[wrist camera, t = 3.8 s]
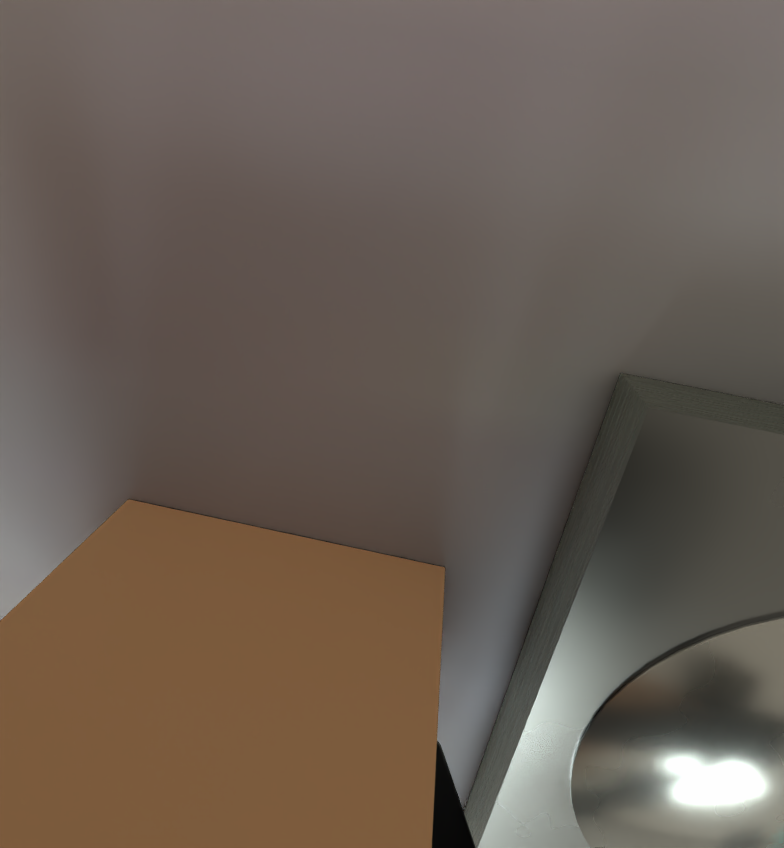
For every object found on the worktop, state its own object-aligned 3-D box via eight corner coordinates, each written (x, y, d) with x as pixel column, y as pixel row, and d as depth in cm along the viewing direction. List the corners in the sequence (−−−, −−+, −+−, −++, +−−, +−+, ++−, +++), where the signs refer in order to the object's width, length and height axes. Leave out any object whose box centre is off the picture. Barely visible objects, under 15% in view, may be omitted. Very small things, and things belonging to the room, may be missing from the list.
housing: (389, 779, 11) (316, 1373, 5) (133, 720, 11) (-184, 1237, 6) (444, 567, 9) (414, 1186, 3) (128, 499, 9) (-380, 981, 4)
